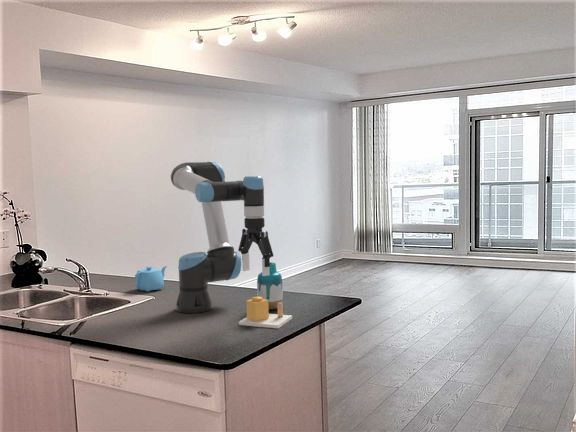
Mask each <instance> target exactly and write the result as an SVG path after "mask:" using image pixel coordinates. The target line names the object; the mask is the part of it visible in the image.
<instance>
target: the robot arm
mask: <svg viewBox="0 0 576 432" xmlns="http://www.w3.org/2000/svg"><path fill="white" fill-rule="evenodd" d="M242 179H243V180H232V181H226V174H225V171H224V168H223V167H222V165H221V164H220V163H219V162H216V161H215V162H213V161H202V162H201V161H200V162H197V161H196V162H195V161H194V162H182V163H180V164H178V165H176V166H175V167H173V169H172V171H171V173H170V180H171V183H172V185H173V186H174V187H175V188H177V189H179V190H182V191H186V190H187V192H190V193H192V194H194V195H195V199H196V201H198V203H201V208H202V212H203V218H204V224H205V230H206V235H207V240H208V245H209V248H208V250H207V251H206V252H205V251H197V252H191V253H186V254H183V255H182V256H180V257H179V259H178V268H177V269H178V278H179V279H178V284H179V285H178V286H179V294H178V296H177V300H176V303H175V310H176V312H178V313H182V314H197V313H205V312H208V311H211V310H213V301H212V298H211V295H210V292H209V289H208V286H209V285H208V283H215V282H223V281H230V280H234V279H237V278H238V276H240V274H241V271H243V272H246V271H250V269H251V268H250V253H249V252H250V248H251V246H252V245H253V243H255V244H256V246H257V247H258V248H259V251H260V253H261V255H262V258H261V268H262V269H261V272H262V276H268V275H270V272H269V267H270V258H273V257H274V252H273V249H272V245H271V243H270V239H269V233H268V231H267V230H264V231H263V229H264V227H265V226H266V225H265V218H264V216H265V194H264V193H265V185H264V177H263V176H261V175H253V176H252V175H251V176H250V175H247V176H244V177H243V178H242ZM236 201H237V202H238V201H243V216H244V219H243V220H244V228H242V230H241V232H242V233H241V238H240V242H239V246H238V251H235V248H234V246H232V245H231V244H230V241H229V236H228V235H229V234H228V231H227V224H226V219H225V214H224V211H223V210H224V209H223V204H222V202H236ZM239 252H240V253H239Z"/></svg>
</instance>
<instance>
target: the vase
mask: <svg viewBox="0 0 576 432" xmlns="http://www.w3.org/2000/svg"><path fill="white" fill-rule="evenodd" d="M269 272H270V275H268V276H262V271H261V272H260V273H259V274H258V275H257V278H256V293H257V294H256V295H257V296H256V297H262V299H265V300H268V308H269V311H270V310H276V309H277V310H278V307H277V303H279V302H282V303H283V299H284V296H283V295H284V294H283V293H284V290H283V289H284V285H283V284H284V283H283V277H282V274H281V273H280V272H279V271H278V270H277V263H276V262H270V267H269Z"/></svg>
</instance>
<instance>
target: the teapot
mask: <svg viewBox="0 0 576 432" xmlns="http://www.w3.org/2000/svg"><path fill="white" fill-rule="evenodd" d="M167 267H168V265H164V266H162V268H161V269H158V268H154V267H152V266H146V267H145V268H144V269H138V270H137V271H136V273H135V275H134V280H135V288H136V289H138V290H140V291H143V292H144V291H145V293H148V292H151V291H154V290H155V291H159V290H161V289H164V285H165V282H164V281H165V280H164V279H165V273H166V272H165V271H166V268H167Z"/></svg>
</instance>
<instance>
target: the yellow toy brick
mask: <svg viewBox="0 0 576 432" xmlns="http://www.w3.org/2000/svg"><path fill="white" fill-rule="evenodd" d="M269 311H270V310H269V308H268V300H265V299H262V297H258V296H253V297H251V299H247V300H246V317H247V318H248V319H250V320H253V321H260V320H264V319H269V314H270V313H269Z"/></svg>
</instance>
